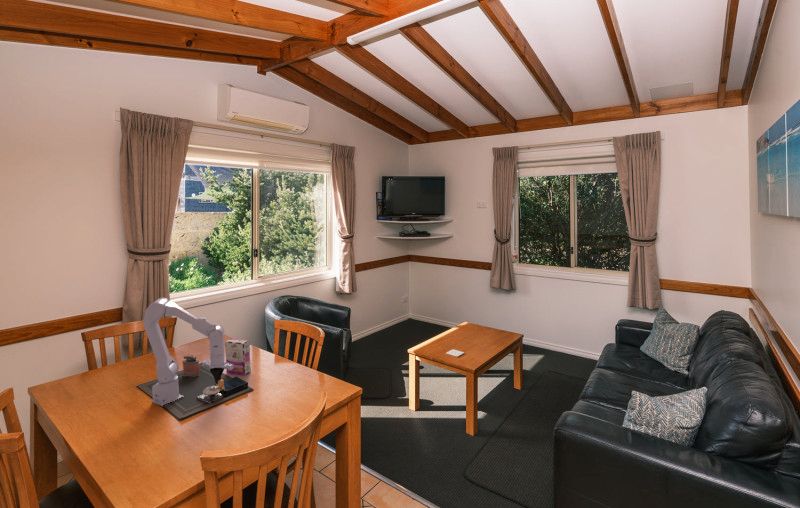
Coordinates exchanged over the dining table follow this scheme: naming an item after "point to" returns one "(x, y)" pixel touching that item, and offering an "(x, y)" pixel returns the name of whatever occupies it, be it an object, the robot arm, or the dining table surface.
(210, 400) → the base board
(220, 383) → the flange plate
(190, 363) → the lighter
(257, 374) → the dining table surface
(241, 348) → the candy bar box
